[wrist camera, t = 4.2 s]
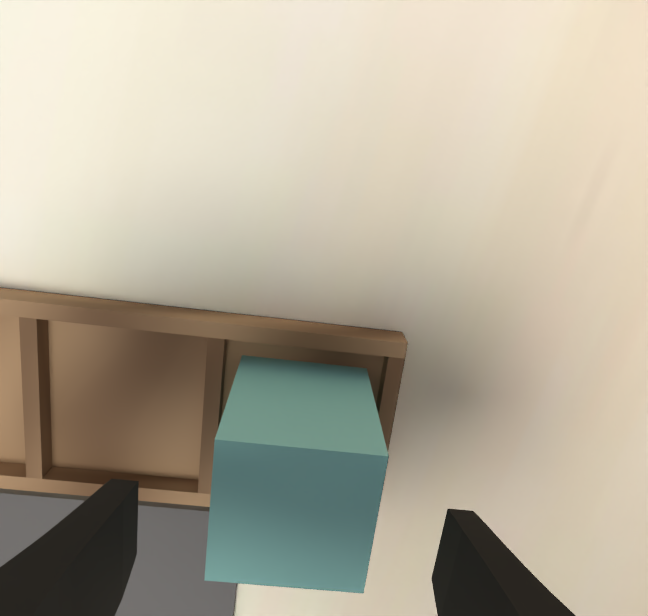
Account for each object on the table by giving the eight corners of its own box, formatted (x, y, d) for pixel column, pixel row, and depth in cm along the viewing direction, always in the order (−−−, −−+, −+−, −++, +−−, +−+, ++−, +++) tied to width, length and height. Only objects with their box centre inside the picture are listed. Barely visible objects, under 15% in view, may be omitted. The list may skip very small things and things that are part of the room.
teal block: (366, 368, 17) (388, 456, 12) (349, 475, 18) (363, 592, 13) (241, 355, 17) (214, 439, 12) (232, 464, 18) (204, 580, 13)
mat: (243, 508, 19) (242, 514, 18) (226, 694, 21) (224, 702, 21) (-17, 485, 18) (-22, 491, 18) (-2, 678, 21) (-7, 686, 21)
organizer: (402, 332, 17) (407, 343, 16) (371, 502, 19) (375, 521, 18) (-152, 270, 16) (-182, 278, 15) (-125, 457, 18) (-150, 475, 17)
